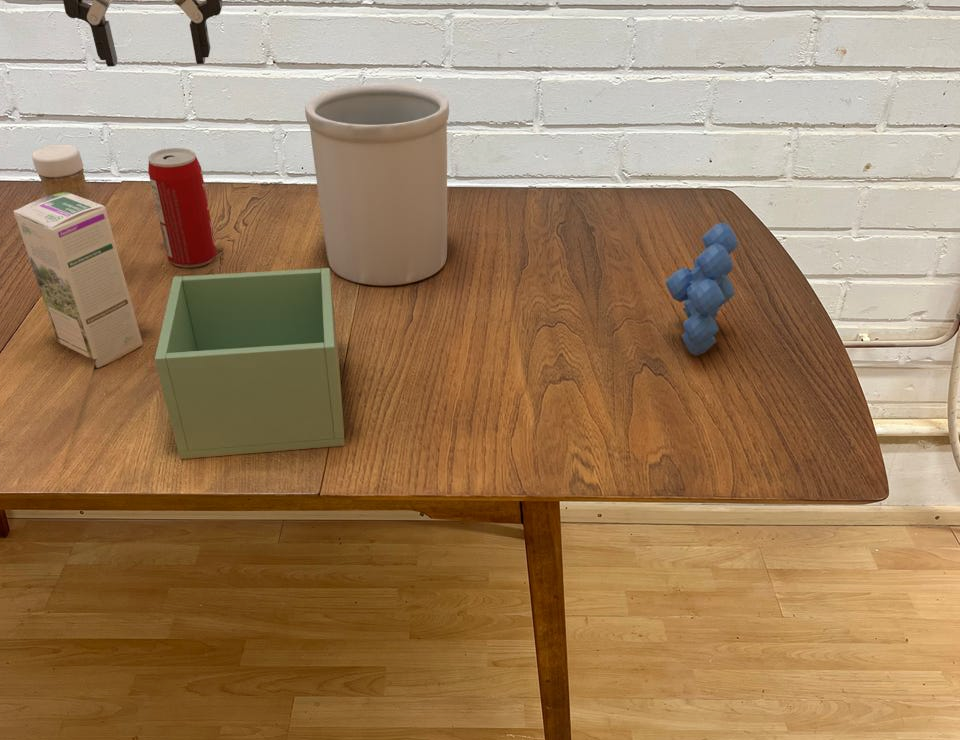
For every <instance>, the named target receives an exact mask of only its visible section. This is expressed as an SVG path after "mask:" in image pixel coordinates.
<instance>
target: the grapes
mask: <svg viewBox="0 0 960 740" xmlns="http://www.w3.org/2000/svg"><path fill="white" fill-rule="evenodd" d="M701 240H702V242H703V244H704V247H705V249H704V250H703V251H702V252H701V253H700V254H699V255H698V256H697V257H696V258H695V261H694V262H692V265H693V266H694V267H693V268H692V269H690V268H687V267H685V266H683V267H682V268H679V269H677V270H676V271H675V272H673V273H672V274H671V275H670V277H668V278H667V279H666V280H665V285H666V288H667V290H668V292H669V294H670V296H671V297H672V299H673V300H674V301H677V302H679V303H683V305H684V308H683V311H684V313H685V315H686V317H687V319H685V321H684V322H683V323H682V327H683V329H684V331H685V332H683V333H682V334H681V338H682V341H683V343H684V345H685V347H686V349H687V350H688V352H689V353H690V354H691V355H693V356H695V357H698V356H700V355H702V354H704V353H706V352H708V350H710V349H711V348H712V347H713V346H714V345H715V344H716V343H717V340H716V337H715V335H716V334H717V333H718V332H719V331H720V328H719V324H718V323H717V320H716V318H717V317H718V316H719V313H718V312H719V311H720V308H722V306H723V305H725V304H726V303H727V302H728V301H729V300H730V299H731V298H732V297H733V296H734V295H735V294H736V291H735V288H734V286H733V284H732V282H731V281H730V279H729V276H728V275H729V274H730V273H731V272H732V271H733V270H734V267H733V265H734V264H733V261H732V258H731V256H730V254H731V253H732V252H733V251H734V250H735V249H736V248H737V247H739V242H738V239H737V236H736V234H735V233H734V230H733V229H732V227H731V226H730V225H729V224H728V223H725V222H723V221H721V222H720V223H717V224H715V225H714V226H712V227H711V228H710V229H709V230H708V231H707V232H706V233H705V234H704V235H703V236H702V238H701Z"/></svg>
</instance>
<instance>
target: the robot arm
mask: <svg viewBox="0 0 960 740" xmlns="http://www.w3.org/2000/svg"><path fill="white" fill-rule="evenodd" d="M112 1H113V0H93V2H92V3H87V2H84V1H83V0H62V3H63V8H64V11H65V14H66V16H67V17H69V18H70V19H78V20H82V21H84V22H86V23H87V24H88V25H89V27H90V29H91V33H92V37H93V42H94V45H95V50H96V54H97V57H98V58H99V59H100V61H105V64H106V67H116V66H117V64H118V56H117V51H116V47H115V42H114V38H113V33H112V29H111V25H110V20H107V19H106V13H107V11H108V10H109V7H110V5H111V3H112ZM171 1H172V2H173V3H174V4H175V5H176V6H178V7H179V8H180V9H181V10H182V11H183V12H184V13H185V15H186V16H187V18H189V19H190V22H189V29H190V34H191V40H192V44H193V45H192V46H193V52H194V58H195V63H196V65H205V63H206V58H209V56H210V53H211V42H210V37H209V30H208V25H207V20H208V19H209V18H212V17H214V16H215V17H216V16H219V15H220V14H221V12H222V8H223V0H204V1H201V2H200V1H199V0H171Z"/></svg>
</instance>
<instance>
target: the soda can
mask: <svg viewBox="0 0 960 740" xmlns="http://www.w3.org/2000/svg"><path fill="white" fill-rule="evenodd" d="M147 158H148V167H147V168H148V169H147V173H148V177H149V181H150V186H151V190H152V194H153V199H154V203H155V208H156V212H157V216H158V221H159V225H160V226H159V227H160V230H161V235H162V239H163V244H164V248H165V252H166V256H167V260H168V261H169V262H171V264H173V265H175V266H176V267H180V268H184V269H185V268H187V269H190V268H199V267H202V266H205V265H208V264H209V263H211V262H212V261H213V260H214V258H215V257H216V255H217V246H216V239H215V234H214V229H213V224H212V219H211V213H210V208H209V202H208V197H207V192H206V187H205V181H204V176H203V170H202V166H201V165H200V162H199V160H198V158H197V155H196V153H195V152H194V151H192V150H191V149H188V148H182V147H171V148H170V147H169V148H163V149H159V150H156V151H154V152H152V153H150V154H149V155H148V157H147Z"/></svg>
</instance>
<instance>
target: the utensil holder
mask: <svg viewBox="0 0 960 740" xmlns="http://www.w3.org/2000/svg"><path fill="white" fill-rule="evenodd" d="M304 112H305V118H306V121H307V124H308V126H309V129H310V130H309V131H310V139H311V147H312V155H313V162H314V172H315V180H316V188H317V195H318V202H319V210H320V219H321V224H322V225H321V226H322V232H323V238H324V243H325V250H326V256H327V261H328V264H329V268H330V270H332V271H333V272H334V273H335V274H336V275H338V276H339V277H341V278H343V279H345V280H346V281H347V280H348V281H350V282H353V283H357V284H361V285H368V286H379V287H380V286H383V287H385V286H401V285H406V284H411V283H416V282H419V281H422V280H425V279H427V278H430V277H432V276H433V275H435V274H436V273H438V272H439V271H440V270H441V269H442V268H443V267H444V266H445V264H446V262H447V256H448V126H447V125H448V124H447V122H448V119H449V117H450V104H449V100H448V98H447V96H445V94H444V93H442V92H440V91H438V90H436V89H433V88H430V87H426V86H423V85H418V84H411V83H401V82H371V83H360V84H359V83H358V84H351V85H345V86H341V87H340V86H339V87H336V88H332V89H327V90H325V91H322V92H319V93H317V94H315V95H313V96H311V97H310V98H309V99H308V100H307V101H306V103H305V105H304Z"/></svg>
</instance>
